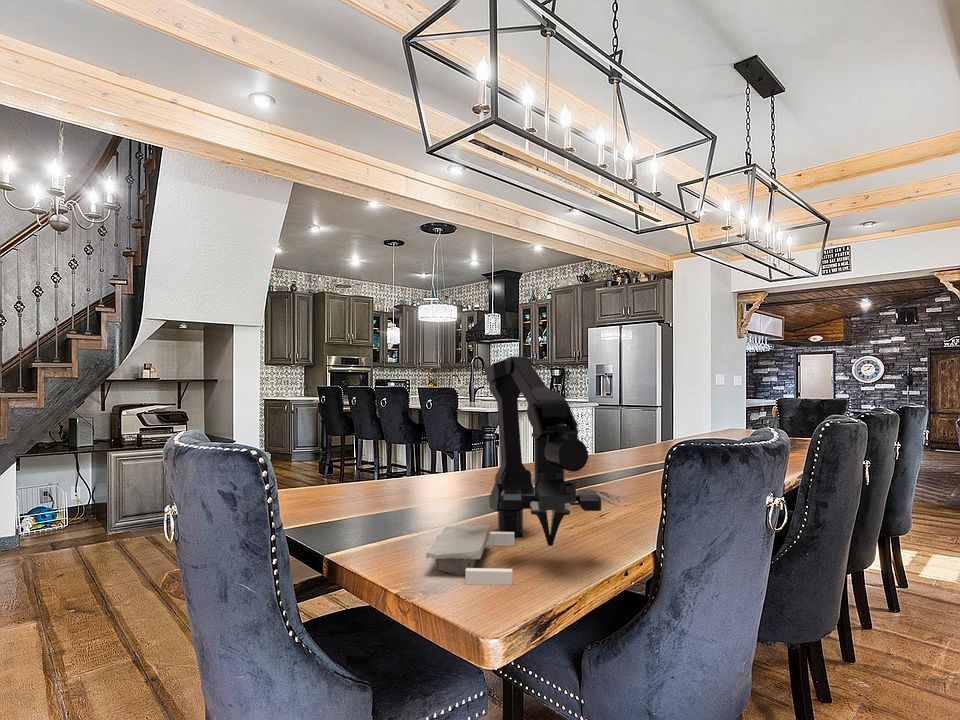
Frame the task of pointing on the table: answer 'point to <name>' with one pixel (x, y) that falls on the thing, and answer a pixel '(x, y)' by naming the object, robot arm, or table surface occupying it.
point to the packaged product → (459, 547)
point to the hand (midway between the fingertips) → (550, 545)
